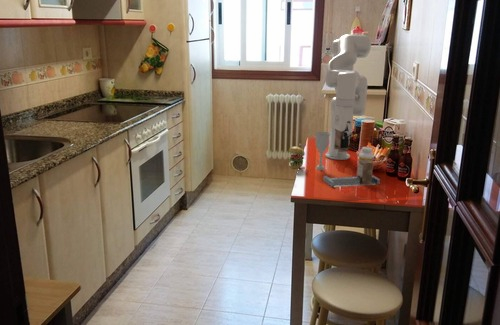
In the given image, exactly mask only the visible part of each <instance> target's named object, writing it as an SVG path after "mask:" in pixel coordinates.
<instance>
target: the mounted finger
mask: <svg viewBox="0 0 500 325" xmlns="http://www.w3.org/2000/svg"><path fill="white" fill-rule="evenodd" d="M358 161H359V164H358V163H357V164H358V165H357V171H358V172H357V171H356V172H357V174H356V175H357V176H360V177H361V178H362V184H363V183H371V178H372V175H373V170H372V168H374V162H373V163H372V162H370V161H369V160H359V159H358Z"/></svg>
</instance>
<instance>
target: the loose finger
mask: <svg viewBox="0 0 500 325" xmlns="http://www.w3.org/2000/svg"><path fill="white" fill-rule="evenodd" d="M344 131H347V130H344ZM344 135H345V133H344ZM341 138H342V132H340V131H338V130H336V132H335V145H334V149H338V152H347V153H348V152H349V147H348V148H341V147H340V146H341ZM350 138H351V135H350V136H349V141H350ZM348 146H350V142H349V143H348Z"/></svg>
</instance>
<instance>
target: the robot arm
mask: <svg viewBox="0 0 500 325" xmlns="http://www.w3.org/2000/svg"><path fill="white" fill-rule="evenodd" d="M371 48H372V40H371V38H370V37H369V35H366V34H344V35H342V36H341V37H339V38H338V39H335V40H333V41H332V44H331V51H332V55H333V58H332V59H330V61H328V63H327V65H326V68H325V78H324V79H325V80H324V81H325V85H326V87H328V88H330V89H331V88H333V89H334V91H335V92H336V93H335V96H334V97H333V98H332V99H331V100H330V104H329V107H330V127H329V128H330V129H329V133H330V135H329V144H328V152H326V153H325V157H326V158H327V159H331V160H338V161H339V160H341V161H343V160H348V159H351V158H350V157H351V155H350V154H349V153H348V152H338V149H334V145H335V132H336V130H338V131H340V132H342V138H341V146H340V147H341V148H348V149H349V145H348V143H349V144H350V140H349V136H350V137H351V135H352V134H353V131H352V130H353V124H354V123H353V122H354V117H362V116H364V115H365V113H366V108H367V93H368V79H367V77H366V76H365V75H360V73H359V71H357V70H354V65H355V64H356V62H357V60H358V58H359V59H360V58H361V59H362V58H363V59H365V58H367V57H368V55H369V54H370V52H371ZM344 130H347V131H344ZM344 133H345V135H344Z"/></svg>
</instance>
